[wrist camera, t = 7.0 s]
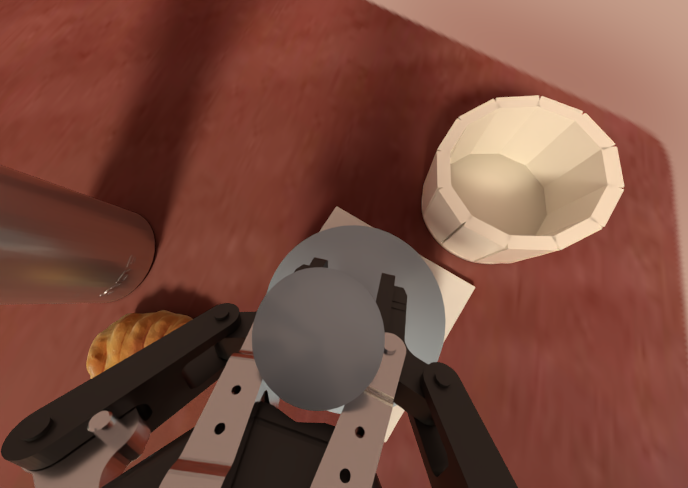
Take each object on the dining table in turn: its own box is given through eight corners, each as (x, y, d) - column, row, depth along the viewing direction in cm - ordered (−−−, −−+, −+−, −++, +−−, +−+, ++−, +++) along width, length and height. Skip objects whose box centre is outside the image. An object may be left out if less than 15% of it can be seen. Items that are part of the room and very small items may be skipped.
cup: (399, 224, 21) (407, 196, 15) (457, 133, 22) (484, 74, 16) (513, 288, 19) (574, 284, 13) (572, 183, 20) (651, 136, 14)
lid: (238, 334, 18) (49, 386, 8) (330, 201, 19) (276, 89, 9) (379, 449, 15) (386, 772, 5) (473, 287, 17) (639, 272, 6)
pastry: (225, 303, 22) (194, 305, 18) (224, 386, 21) (191, 406, 17) (131, 313, 23) (84, 317, 19) (124, 393, 22) (72, 413, 18)
